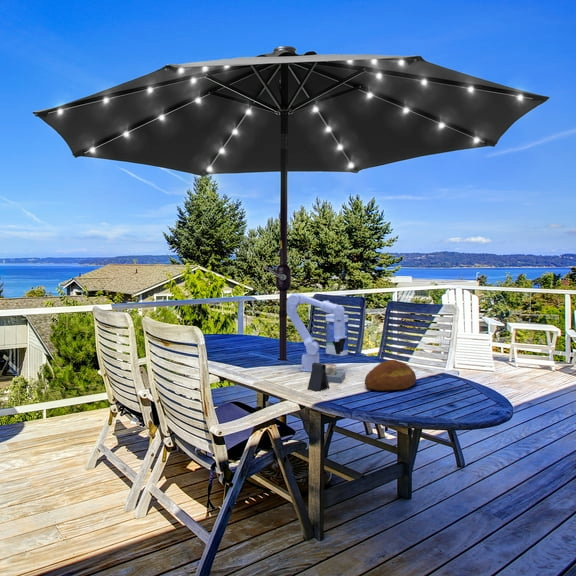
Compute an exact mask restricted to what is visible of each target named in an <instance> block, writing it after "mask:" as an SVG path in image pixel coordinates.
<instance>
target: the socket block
mask: <svg viewBox="0 0 576 576" xmlns="http://www.w3.org/2000/svg"><path fill="white" fill-rule="evenodd" d="M344 378H345V379H346V372H345V371H337V370H336V375H327V379H328V383H330V382H333V383H334V384H342V382H343V381H344V380H345V379H344ZM343 379H344V380H343ZM342 380H343V381H342ZM333 383H332V384H333Z"/></svg>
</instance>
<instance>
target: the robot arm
mask: <svg viewBox="0 0 576 576" xmlns="http://www.w3.org/2000/svg"><path fill="white" fill-rule="evenodd" d="M300 304H301V305H302V304H309V305H311V306H314V307H318V308H319V309H320V311H322V312H325V313H328V314H334V338H335V341H332V343H333V345H334V347H335V351H336V354H340V353H341V352H343V349H344V344H345V341H346V338H347V336H345V320H344V315H345V311H346V310H345V308H344V306H342V305H340V304H339V305H338V303H333V302H330V300H328V299H327V300H323V301H320V300H319V299H318V300H317V299H316V298H313V297H310V296H307V295H304V294H301V293H296V292H295V293H292V294H290V295H289V296H288V297H287V300H286V314H287V316H288V317H289V319H290V321H291V322H292V325H293V326H294V327H295V329H296V331H297V332H298V334H299V336H300V338H301V340H302V341H303V345H304V346H305V350H306V353H303V354H302V356H301V372H309V373H311V372H312V364H313V363H320V352H319V350H320V344H319V343H318V342H317V341H316V340H315V339H314V337H313V336H311V333H310V332H309V330H308V329H307V327H306V326H305V324H304V322H303V321H302V319H301V317H300V315H299V313H298V312H297V310H298V309H299V308H298V307H299V305H300Z"/></svg>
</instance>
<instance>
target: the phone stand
mask: <svg viewBox="0 0 576 576" xmlns="http://www.w3.org/2000/svg"><path fill="white" fill-rule="evenodd" d="M325 364H326V363H320V362H319V363H313V364H312V372H310V378H309V381H308V385H307V390H309V389H310V390H309V391H313V390H314V392H317V391H319V392H321V390H322V391H325V390H327V388H328V389H330V384H329V383H330V382H328V379H327V374H326V365H325Z"/></svg>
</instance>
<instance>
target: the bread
mask: <svg viewBox="0 0 576 576" xmlns="http://www.w3.org/2000/svg"><path fill="white" fill-rule="evenodd" d="M416 379H417V376H416V373H415V371H414V370H413V369H412V368H411V367H410V365H408V364H406V363H404V362H403V361H399V360H397V359H390V360H389V359H388V360H385V361H382V362H380V363H379V364H378V365H375V367H373V368H372V370H370V371H369V372H368V373H367V374H366V376H365V378H364V385H365V387H366V388H367V389H369V390H372V391H379V392H381V391H382V392H383V391H401V390H405V389H408V388H410V387H413V386H414V385H415V384H416V382H417V380H416Z"/></svg>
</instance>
